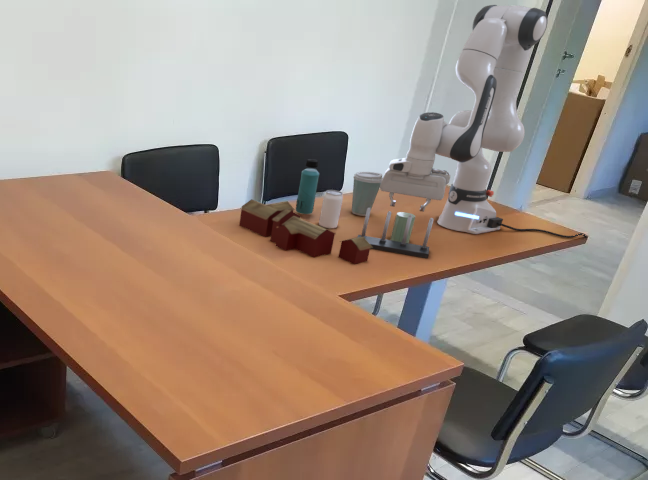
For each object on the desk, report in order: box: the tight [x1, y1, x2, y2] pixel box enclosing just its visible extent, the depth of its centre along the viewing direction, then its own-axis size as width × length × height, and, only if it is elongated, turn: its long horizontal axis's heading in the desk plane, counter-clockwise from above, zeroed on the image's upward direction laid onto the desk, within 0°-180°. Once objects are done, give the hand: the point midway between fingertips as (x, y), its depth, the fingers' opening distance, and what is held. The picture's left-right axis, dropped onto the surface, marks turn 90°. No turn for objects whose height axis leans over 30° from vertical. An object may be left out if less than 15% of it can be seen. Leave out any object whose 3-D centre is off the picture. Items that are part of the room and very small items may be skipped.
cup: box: [389, 211, 416, 243], centre depth 237 cm, size 6×6×9 cm
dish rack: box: [356, 208, 434, 259], centre depth 230 cm, size 23×8×12 cm, turn 69°
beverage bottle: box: [295, 158, 320, 215], centre depth 252 cm, size 6×7×20 cm
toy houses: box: [239, 199, 373, 265], centre depth 230 cm, size 45×20×10 cm, turn 35°
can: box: [318, 189, 344, 230], centre depth 246 cm, size 6×6×12 cm
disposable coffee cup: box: [351, 171, 383, 217], centre depth 260 cm, size 11×11×15 cm
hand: (406, 208), depth 234 cm, fingers open, 8 cm apart
